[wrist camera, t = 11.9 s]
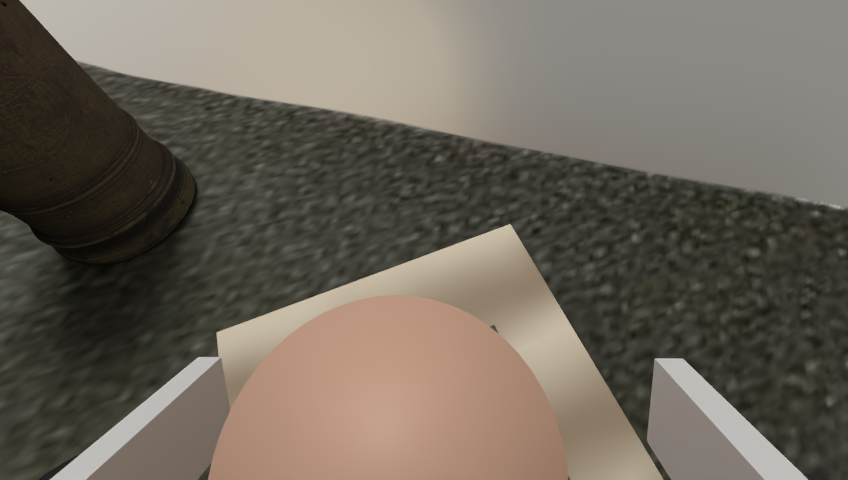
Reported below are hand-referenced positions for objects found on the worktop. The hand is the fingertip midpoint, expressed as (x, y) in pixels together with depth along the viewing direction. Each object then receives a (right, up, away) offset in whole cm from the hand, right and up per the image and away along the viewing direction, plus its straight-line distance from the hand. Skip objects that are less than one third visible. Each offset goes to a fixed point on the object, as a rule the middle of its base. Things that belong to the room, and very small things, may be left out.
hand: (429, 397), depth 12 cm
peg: (+1, -6, +5) cm, 8 cm away
